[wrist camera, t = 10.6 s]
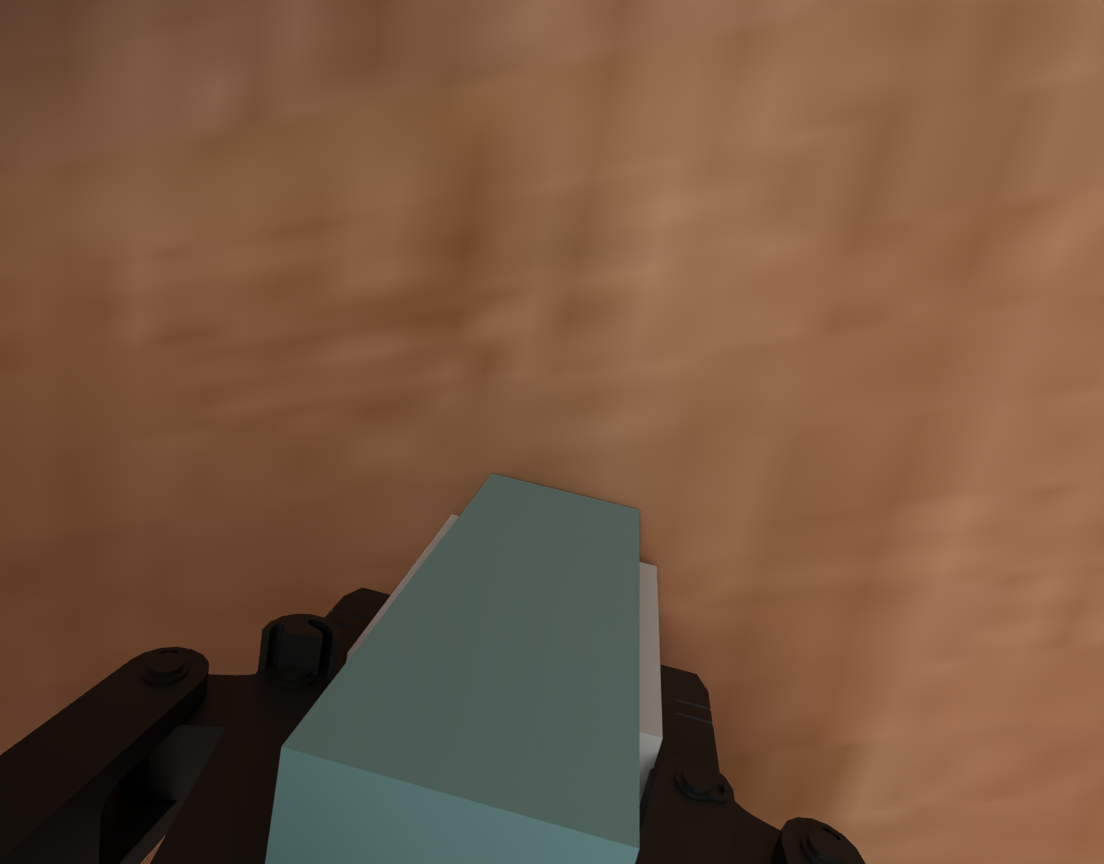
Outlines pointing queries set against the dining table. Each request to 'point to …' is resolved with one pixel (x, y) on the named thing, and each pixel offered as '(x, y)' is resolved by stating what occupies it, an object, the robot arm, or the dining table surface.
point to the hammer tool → (484, 701)
